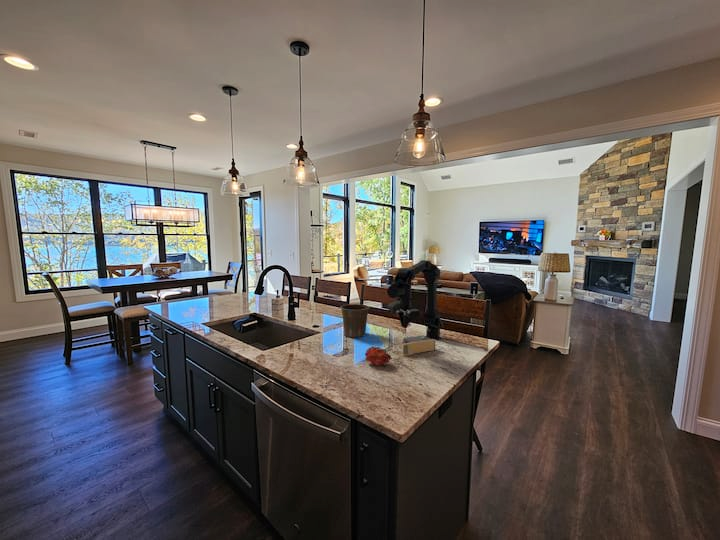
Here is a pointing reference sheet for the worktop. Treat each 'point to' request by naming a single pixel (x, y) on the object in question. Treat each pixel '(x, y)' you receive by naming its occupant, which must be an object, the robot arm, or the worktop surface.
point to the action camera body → (415, 339)
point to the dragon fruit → (377, 356)
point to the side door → (418, 347)
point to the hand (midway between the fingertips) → (404, 327)
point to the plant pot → (354, 319)
